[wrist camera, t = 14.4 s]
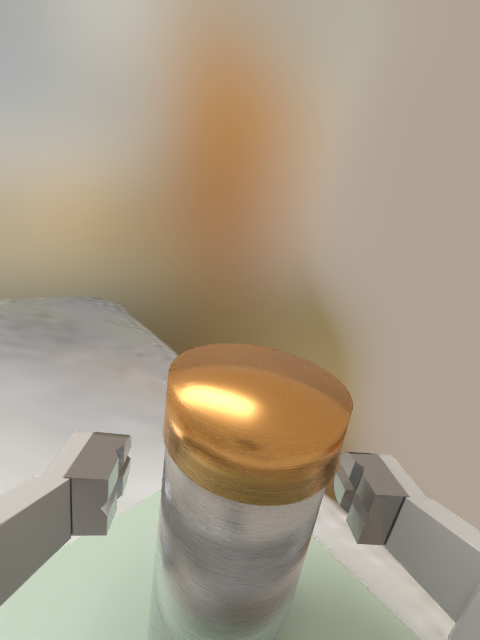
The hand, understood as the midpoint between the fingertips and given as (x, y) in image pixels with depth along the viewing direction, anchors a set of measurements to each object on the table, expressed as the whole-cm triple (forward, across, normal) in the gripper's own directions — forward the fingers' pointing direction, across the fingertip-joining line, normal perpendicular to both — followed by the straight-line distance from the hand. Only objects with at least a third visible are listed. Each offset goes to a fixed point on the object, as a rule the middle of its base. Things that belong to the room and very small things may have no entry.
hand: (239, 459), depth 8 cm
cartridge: (-1, 0, -7) cm, 7 cm away
